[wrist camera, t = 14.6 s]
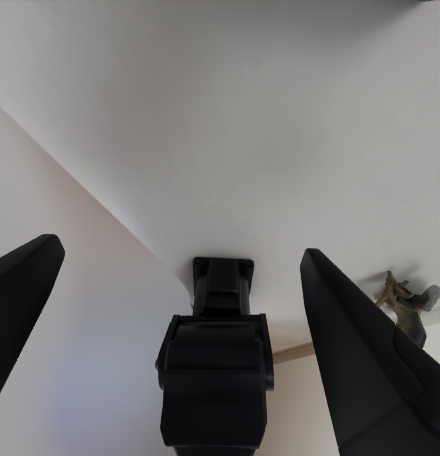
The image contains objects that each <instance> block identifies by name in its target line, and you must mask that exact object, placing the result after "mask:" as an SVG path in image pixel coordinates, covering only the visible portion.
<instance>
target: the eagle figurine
mask: <svg viewBox="0 0 440 456" xmlns="http://www.w3.org/2000/svg"><path fill="white" fill-rule="evenodd" d="M408 283H409V281H408V280H405V281H403V282H402V283H397V282H396V280H395V279H394V277H393V274H392V272H391V271H388V278H387V279H386V283H385V285H386V289H385V291H384V295H382V297H376V296H374V298H375V299H376V300H378V301H377V302H376V303H375V304H376V305H377V306H378V307H379V308H380V307H381V305H384V306H386V307H389V308H391V309H392V310H393V311H394V312H395V314H397V317H398V321H397V323H396V325H397V326H399V327H400V328H401V329H402V330H403V331H404V332H405V333H406V334H407V335H408V336H409V337H410V338H411V339H412V340H413V341H414V342H415V343H416V344H417V345H419V346H420V347H421V348H423V346H424V344H425V340H426V337H427V336H426V332H425V330H424V327H423V324H422V322H421V319H420V313H421V312H423V311H427V312H428V311H431V309H432V308H434V306H435V305H436V303H437V302H438V301H439V299H440V287H438V286H436V285H432V286H430V287H429V288H428V289H427V290H426V291H425V292H424V293H423V294H422V295H415V294H413V293H411V292H410V291H408V290H407V289H406V288H404V287H403V286H405V285H407V284H408Z"/></svg>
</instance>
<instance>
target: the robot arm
mask: <svg viewBox="0 0 440 456" xmlns="http://www.w3.org/2000/svg"><path fill="white" fill-rule="evenodd" d="M64 257H65V250H64V248H63V246H62V244H61V242H60V240H59V238H58V236H57V235H55V234H43V235H40V236H39V237H37V238H35V239H33V240H31V241H30V242H28V243H26V244H24V245H22V246H20V247H19V248H17V249H15V250H13V251H11V252H9V253H8V254H6V255H4V256H2V257H0V392H1V390H2V388H3V387H4V384H5V383H6V380H7V379H8V377H9V375H10V373H11V371H12V369H13V367H14V365H15V363H16V361H17V359H18V357H19V355H20V353H21V351H22V349H23V347H24V345H25V343H26V341H27V339H28V337H29V335H30V333H31V331H32V329H33V327H34V326H35V324H36V321H37V320H38V318H39V316H40V314H41V312H42V310H43V308H44V306H45V304H46V302H47V300H48V298H49V296H50V293H51V291H52V289H53V286H54V283H55V281H56V278H57V276H58V273H59V270H60V268H61V265H62V262H63V260H64ZM197 261H198V262H197ZM248 264H250V265H248ZM253 270H254V262H253V261H252V260H245V259H225V258H204V257H196V258H194V260H193V277H194V296H195V300H194V307H193V315H192V316H180V315H174V316H173V318H172V321H171V322H170V324H169V327H168V330H167V333H166V336H165V338H164V341H163V343H162V346H161V349H160V352H159V355H158V358H157V360H156V363H155V367H156V369H157V370H158V379H159V386H160V388H161V389H162V390H164V391H163V408H162V416H161V424H160V430H161V434H162V437H163V440H164V443H165V446H167V447H168V446H169V447H174V449H175V452H176V454H177V456H253V455H254V452H255V450H256V449H258V448H259V446H260V444H261V441H262V438H263V435H264V432H265V427H266V424H267V408H266V391H273V390H274V371H273V358H272V349H271V343H270V337H269V332H268V326H267V320H266V314H260V315H250V306H249V294H250V288H251V282H252V276H253ZM300 272H301V281H302V290H303V298H304V306H305V311H306V316H307V320H308V324H309V328H310V332H311V337H312V341H313V345H314V349H315V353H316V357H317V362H318V366H319V370H320V374H321V378H322V383H323V387H324V391H325V395H326V399H327V403H328V407H329V412H330V416H331V420H332V424H333V428H334V432H335V437H336V441H337V445H338V447H339V448H338V450H339V454H340V456H440V364H439V363H438V362H436V361H435V360H434V359H433V358H432V357H431V356H430V355H428V354H427V353H426V352H425V351H424V350H423V349H422V348H421V347H420V346H419V345H417V344H416V343H415V342H414V341H413V340H412V339H411V338H410V337H409V336H408V335H407V334H406V333H405V332H404V331H403V330H402V329H401V328H400V327H399V326H397V325H395V323H394V322H393V321H392V320H391V319H390V318H389V317H388V316H387V315H386V314H385V313H384V312H383V311H382V310H381V309H380V308H379V307H378V306H377V305H376V304H375V303H374V302H373V301H372V300H371V299H370V298H369V297H368V296H367V295H365V294H364V293H363V292H362V291H361V290H360V289H359V288H358V287H357V286H356V285H355V284H354V283H353V282H352V281H351V280H350V279H349V278H348V277H347V276H346V275H345V274H344V273H343V272H342V271H341V270H340V269H339V268H338V267H337V266H336V265H335V264H334V263H333V262H331V261H330V260H329V259H328V258H327V257H326V256H325V255H324V254H323V253H322V252H321V251H320V250H319V249H315V248H307V249H306V250H305V253H304V255H303V258H302V261H301V264H300Z"/></svg>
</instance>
